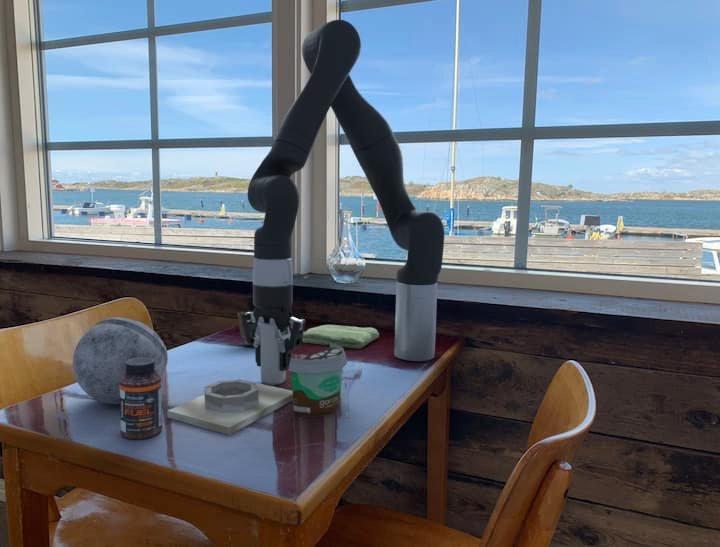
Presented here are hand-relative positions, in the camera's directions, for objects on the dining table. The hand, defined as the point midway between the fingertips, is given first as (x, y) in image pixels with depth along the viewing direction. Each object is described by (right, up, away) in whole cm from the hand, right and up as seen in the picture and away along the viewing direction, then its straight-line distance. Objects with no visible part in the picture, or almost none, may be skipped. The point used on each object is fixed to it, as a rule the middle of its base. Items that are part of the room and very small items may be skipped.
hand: (272, 367), depth 108 cm
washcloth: (+12, +1, +33) cm, 35 cm away
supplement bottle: (-16, -6, -24) cm, 29 cm away
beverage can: (0, -3, 0) cm, 3 cm away
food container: (+11, -5, -13) cm, 18 cm away
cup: (-9, +1, +26) cm, 28 cm away
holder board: (-4, -5, -13) cm, 15 cm away
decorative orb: (-24, -4, -11) cm, 27 cm away
